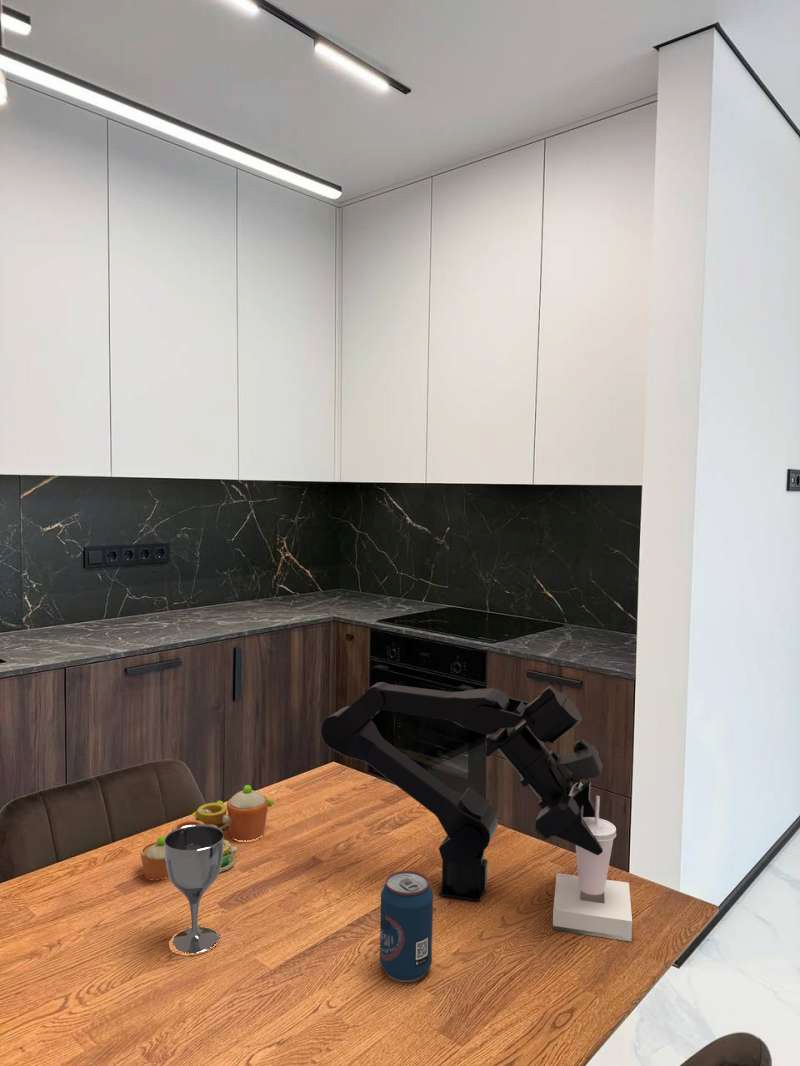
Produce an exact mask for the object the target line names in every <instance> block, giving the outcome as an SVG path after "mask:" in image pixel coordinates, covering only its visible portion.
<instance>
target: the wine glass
mask: <svg viewBox="0 0 800 1066" xmlns="http://www.w3.org/2000/svg"><path fill="white" fill-rule="evenodd" d="M223 831H224V830H221V829H220V828H218V827H215V826H212V825H206V824H196V825H188V826H184V827H180V828H177V829H175V830H173V831H172V830H171V831H170V832H169V833H167V835H166V836H165V862H166V868H167V872H168V875H169V877H168V878H169V880H170V882H171V883H172V885H173V886H174V887H175V888H176V889H177V890H178V891H180V893H182V894H183V895H184V897H185V898H186V900H187V901H188V903H189V909H190V916H191V917H190V918H191V927H192V928H189V927H188V928H189V929H187V930H184V931H182V932H180V933H178V934H177V935H176V936H175V937H174V940H173V942H172V943H173V945H175V947H176V949H178V950H179V951H182V952H184V953H185V952H186V953H188V952H189V954H190V953H194V954H196V953H199V952H204V951H207V950H206V949H211V948H210V947H213V946H214V944H216V942H217V943H218V941H219V939H220V938H221V936H220V937H219V935H218V934H217V933H218V932H219V931H218V932H217V933H216V931H214V930H212V929H210V928H205V927H197V926H198V917H199V916H198V915H199V908H200V901H201V899H202V897H203V895H204V894H205V892H206V891H207V890H208V889H209V888H210V887H211V886H212V885H213V883H215V880H216V879H217V878H218V876H219V875H220V872H219V871H220V867H221V863H222V858H223V848H224V840H225V838H224V837H225V836H224V832H223ZM217 935H218V936H217ZM217 940H218V941H217ZM220 940H221V939H220Z"/></svg>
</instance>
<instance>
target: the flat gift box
mask: <svg viewBox="0 0 800 1066" xmlns="http://www.w3.org/2000/svg"><path fill="white" fill-rule="evenodd" d="M630 893H631V892H630V882H626V881H618V880H612V879H611V880H610V879H606V884H605V890H604V892H603V893H602V894H599V895H591V894H587V893H585V892H583V891H581V890H580V888H579V880H578V875H574V874H566V873H560V872H556V879H555V890H554V898H553V899H554V900H553V911H552V913H553V914H552V931H560V932H565V933H573V934H579V935H585V936H591V937H598V938H604V939H605V938H606V939H612V940H617V939H618V941H624V942H625V941H626V942H630V943H631V942H632V937H633V936H632V935H633V917H632V916H633V915H632V905H631V894H630Z"/></svg>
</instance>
